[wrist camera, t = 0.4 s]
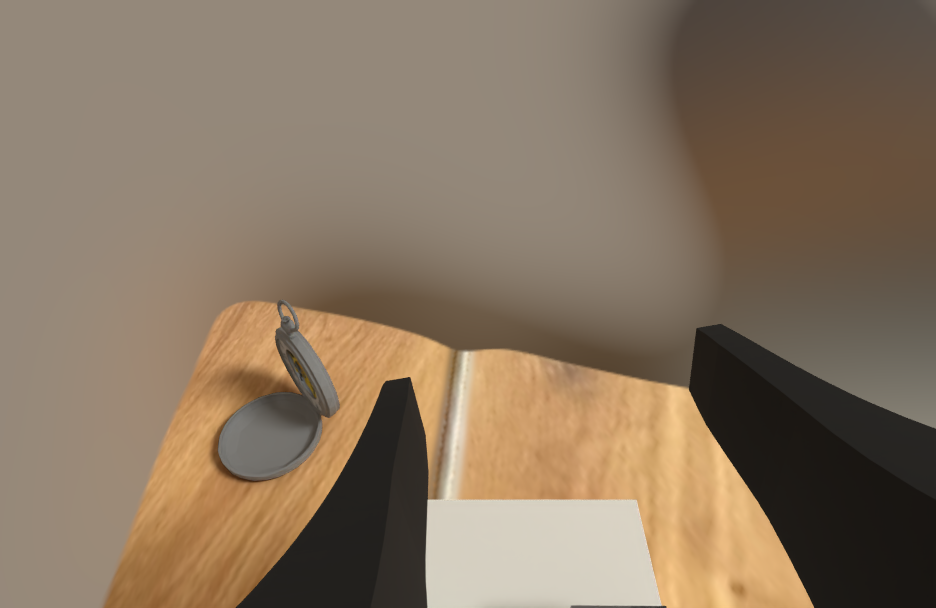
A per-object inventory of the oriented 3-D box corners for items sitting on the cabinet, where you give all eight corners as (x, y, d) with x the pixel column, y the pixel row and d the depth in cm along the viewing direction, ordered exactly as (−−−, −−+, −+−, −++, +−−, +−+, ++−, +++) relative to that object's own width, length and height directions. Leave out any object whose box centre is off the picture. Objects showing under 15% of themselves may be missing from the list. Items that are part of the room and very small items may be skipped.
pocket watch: (202, 471, 33) (129, 369, 27) (271, 374, 39) (227, 271, 33) (315, 502, 32) (269, 399, 25) (370, 395, 38) (344, 290, 31)
